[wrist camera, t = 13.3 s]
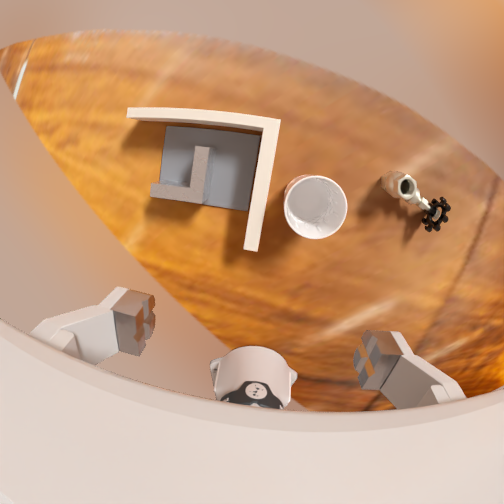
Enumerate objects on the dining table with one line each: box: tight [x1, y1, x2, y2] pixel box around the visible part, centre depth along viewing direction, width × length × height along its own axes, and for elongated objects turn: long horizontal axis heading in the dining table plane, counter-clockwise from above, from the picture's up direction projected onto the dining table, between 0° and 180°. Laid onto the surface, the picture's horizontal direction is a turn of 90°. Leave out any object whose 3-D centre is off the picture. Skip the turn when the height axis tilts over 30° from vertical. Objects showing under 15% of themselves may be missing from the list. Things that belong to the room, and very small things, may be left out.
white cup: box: [284, 175, 347, 239], centre depth 37 cm, size 8×8×10 cm
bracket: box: [150, 146, 216, 204], centre depth 38 cm, size 8×8×5 cm
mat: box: [160, 126, 260, 211], centre depth 40 cm, size 12×15×1 cm
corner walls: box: [127, 108, 281, 252], centre depth 38 cm, size 18×22×6 cm
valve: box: [381, 171, 451, 232], centre depth 37 cm, size 7×7×12 cm
